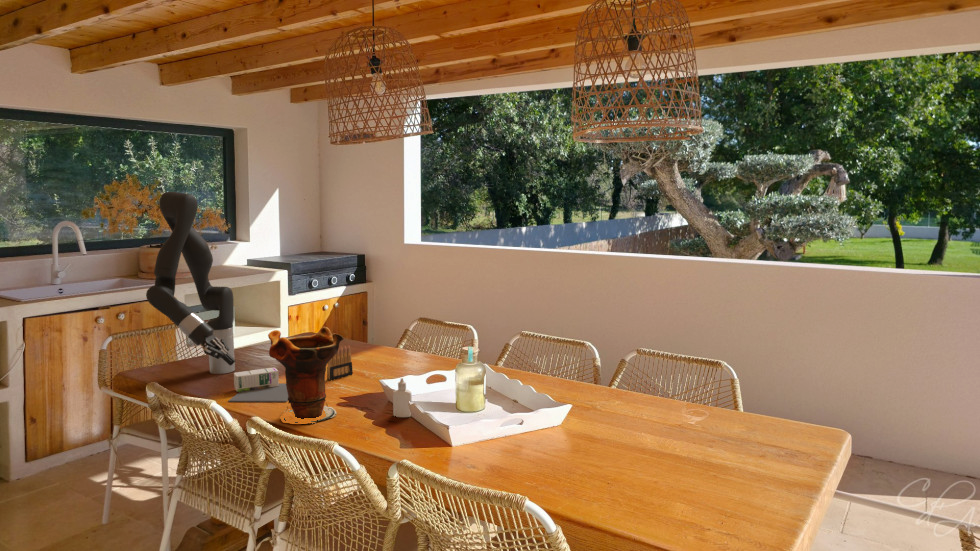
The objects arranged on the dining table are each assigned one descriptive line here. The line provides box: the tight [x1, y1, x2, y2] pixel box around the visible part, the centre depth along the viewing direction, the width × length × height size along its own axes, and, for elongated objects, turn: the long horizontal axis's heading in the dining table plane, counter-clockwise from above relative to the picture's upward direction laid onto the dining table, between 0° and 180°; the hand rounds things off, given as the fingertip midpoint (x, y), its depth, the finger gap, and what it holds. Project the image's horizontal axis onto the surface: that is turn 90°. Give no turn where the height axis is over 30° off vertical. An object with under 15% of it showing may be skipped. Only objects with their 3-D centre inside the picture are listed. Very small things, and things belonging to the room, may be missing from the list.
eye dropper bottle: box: [392, 377, 413, 418], centre depth 211 cm, size 4×6×12 cm
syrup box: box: [233, 366, 280, 393], centre depth 240 cm, size 6×6×14 cm
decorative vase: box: [267, 326, 345, 423], centre depth 211 cm, size 21×23×28 cm
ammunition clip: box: [326, 343, 354, 381], centre depth 254 cm, size 11×2×12 cm, turn 141°
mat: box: [228, 382, 289, 403], centre depth 235 cm, size 20×19×1 cm
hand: (233, 363), depth 235 cm, fingers closed
